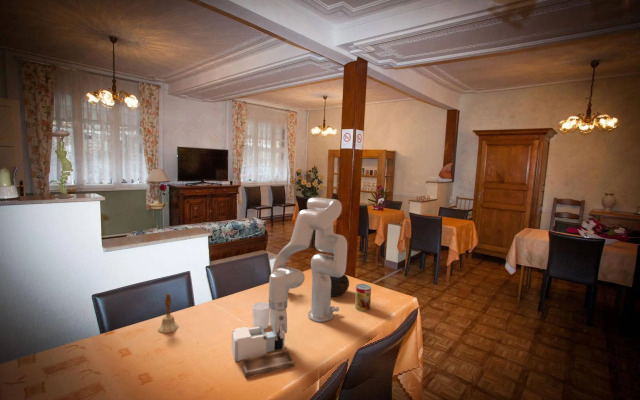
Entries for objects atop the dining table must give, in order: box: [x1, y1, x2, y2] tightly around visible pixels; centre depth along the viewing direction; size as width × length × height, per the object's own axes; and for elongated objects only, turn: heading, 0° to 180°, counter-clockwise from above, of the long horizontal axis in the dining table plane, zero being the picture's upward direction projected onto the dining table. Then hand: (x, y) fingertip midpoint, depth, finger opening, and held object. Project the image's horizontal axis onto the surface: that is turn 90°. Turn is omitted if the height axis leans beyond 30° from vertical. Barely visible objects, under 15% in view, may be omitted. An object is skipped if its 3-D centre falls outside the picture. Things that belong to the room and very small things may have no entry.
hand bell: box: [157, 293, 179, 334], centre depth 138 cm, size 8×8×16 cm
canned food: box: [354, 283, 372, 312], centre depth 166 cm, size 8×8×12 cm
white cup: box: [252, 301, 270, 330], centre depth 143 cm, size 8×8×10 cm
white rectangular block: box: [251, 330, 286, 353], centre depth 126 cm, size 14×4×6 cm, turn 113°
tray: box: [240, 349, 295, 379], centre depth 116 cm, size 18×8×2 cm, turn 113°
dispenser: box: [231, 326, 267, 362], centre depth 123 cm, size 12×8×9 cm, turn 113°
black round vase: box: [330, 254, 350, 297], centre depth 184 cm, size 18×18×28 cm
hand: (277, 345), depth 128 cm, fingers closed on white rectangular block, 4 cm apart
